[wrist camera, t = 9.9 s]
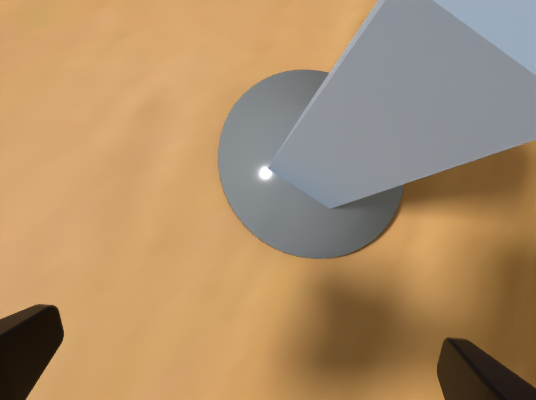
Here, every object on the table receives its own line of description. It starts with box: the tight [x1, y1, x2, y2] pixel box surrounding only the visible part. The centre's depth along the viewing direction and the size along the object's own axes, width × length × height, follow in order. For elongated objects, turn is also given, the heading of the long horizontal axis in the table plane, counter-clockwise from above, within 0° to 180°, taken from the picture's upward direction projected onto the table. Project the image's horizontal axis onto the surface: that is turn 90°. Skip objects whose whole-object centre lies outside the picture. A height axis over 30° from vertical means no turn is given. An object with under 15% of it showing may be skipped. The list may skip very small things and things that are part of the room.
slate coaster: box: [218, 70, 404, 259], centre depth 19 cm, size 12×12×1 cm
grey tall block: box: [267, 0, 536, 209], centre depth 12 cm, size 4×4×13 cm
